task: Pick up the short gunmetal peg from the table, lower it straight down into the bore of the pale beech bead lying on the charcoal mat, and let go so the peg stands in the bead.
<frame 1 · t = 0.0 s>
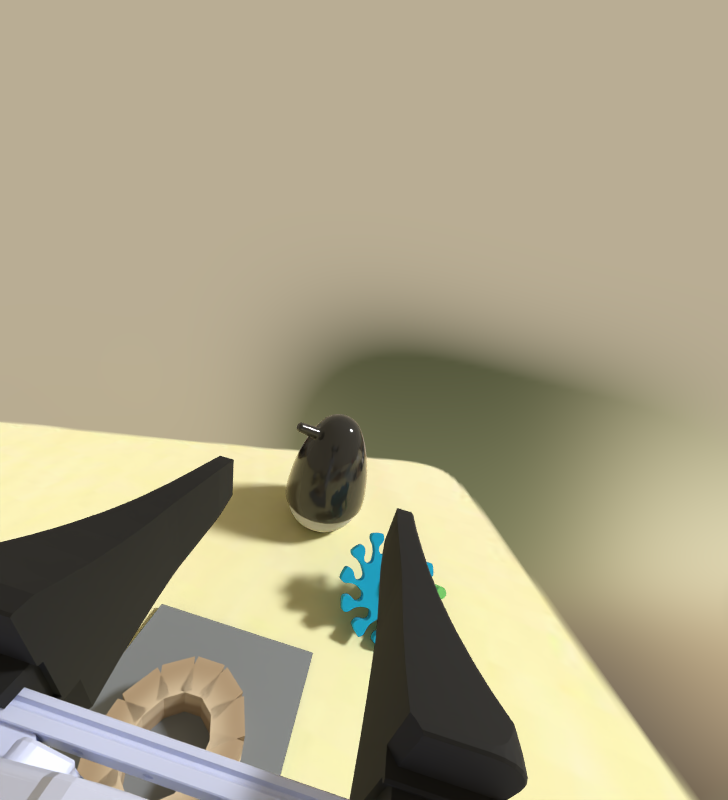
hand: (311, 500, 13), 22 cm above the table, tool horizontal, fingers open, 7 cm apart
pump dispenser: (319, 515, 41), on the table
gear: (383, 610, 32), on the table
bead: (168, 760, 19), resting on mat
mat: (168, 764, 19), on the table
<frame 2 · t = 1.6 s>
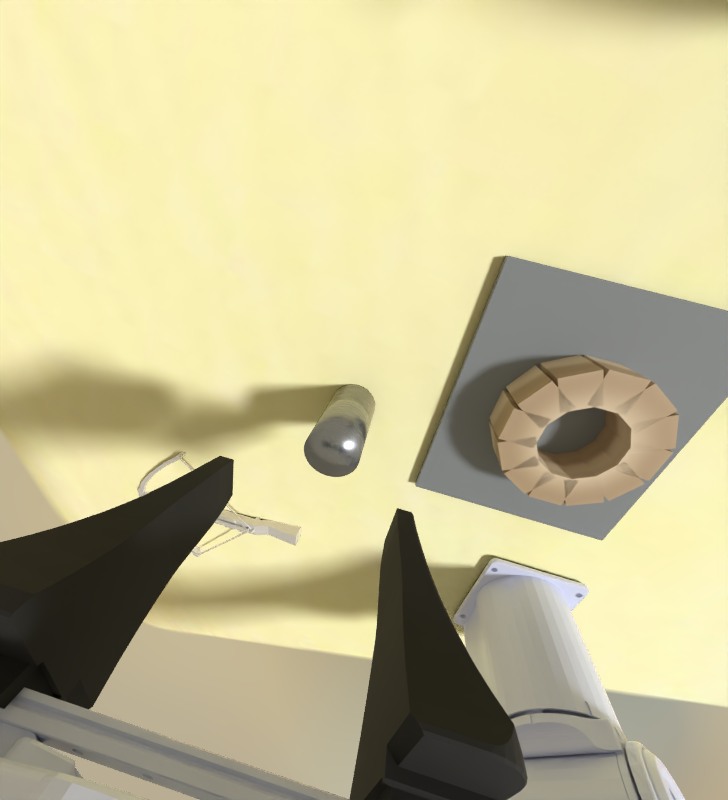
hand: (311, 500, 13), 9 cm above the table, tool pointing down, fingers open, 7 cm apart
peg: (353, 404, 21), on the table
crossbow: (223, 506, 29), on the table
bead: (563, 422, 19), resting on mat
mat: (559, 419, 19), on the table
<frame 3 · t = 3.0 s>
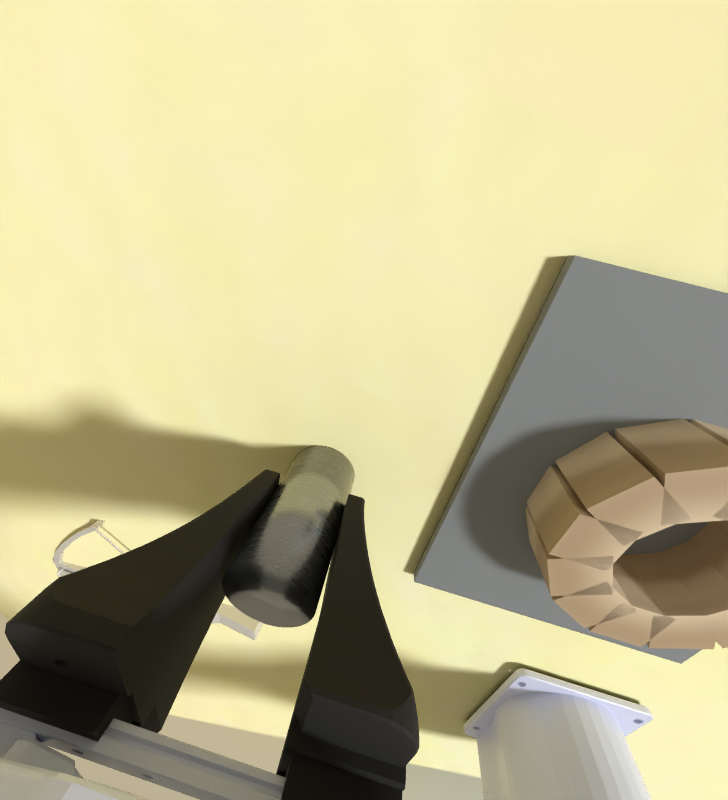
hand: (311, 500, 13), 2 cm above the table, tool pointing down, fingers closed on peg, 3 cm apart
peg: (323, 472, 15), on the table, touching gripper
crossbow: (165, 580, 23), on the table
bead: (642, 514, 12), resting on mat
mat: (634, 505, 13), on the table
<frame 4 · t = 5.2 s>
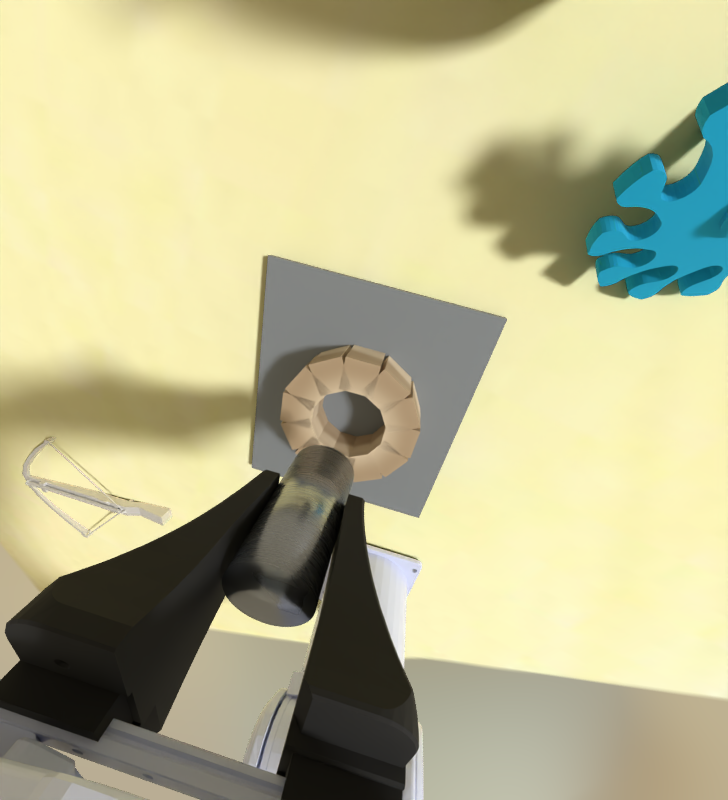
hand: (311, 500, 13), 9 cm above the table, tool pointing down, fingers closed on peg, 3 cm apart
peg: (323, 471, 15), point 7 cm above the table, touching gripper
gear: (687, 213, 14), on the table
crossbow: (104, 489, 31), on the table
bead: (355, 407, 21), resting on mat
mat: (356, 404, 21), on the table
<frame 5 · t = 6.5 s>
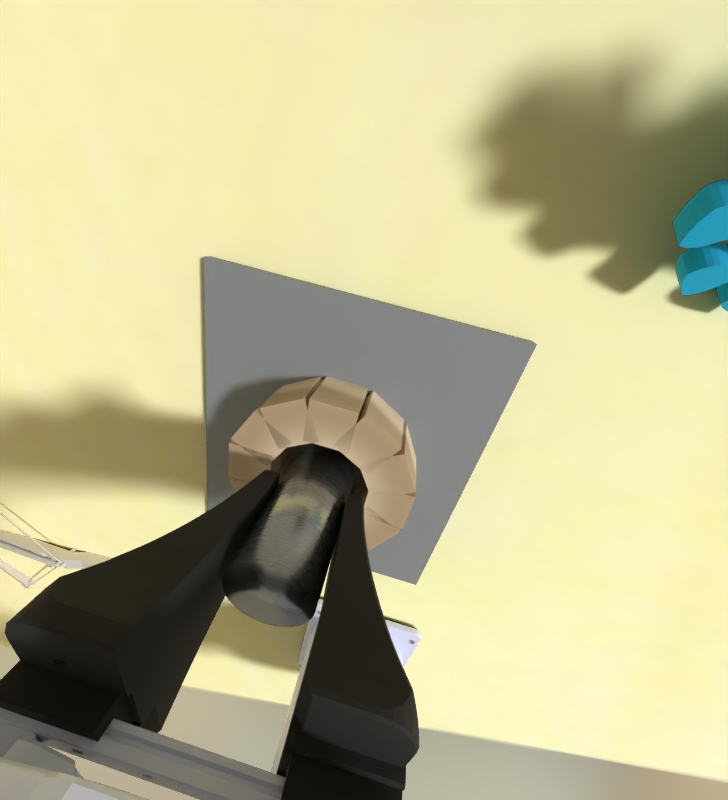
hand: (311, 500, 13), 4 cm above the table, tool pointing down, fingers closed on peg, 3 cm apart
peg: (323, 471, 15), point 2 cm above the table, touching gripper
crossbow: (44, 535, 26), on the table
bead: (331, 454, 16), resting on mat
mat: (334, 449, 16), on the table
when the fingers open (4 cm above the table, at t = 7.3 s): peg drops 1 cm, resting on mat.
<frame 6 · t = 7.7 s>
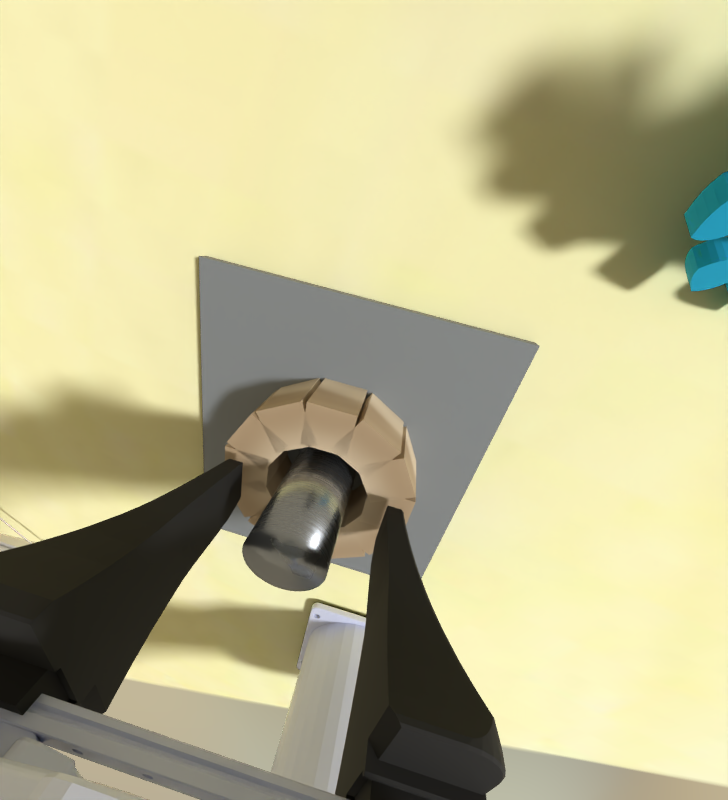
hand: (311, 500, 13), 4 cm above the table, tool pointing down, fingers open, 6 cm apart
peg: (330, 457, 16), point 1 cm above the table, touching mat
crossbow: (41, 537, 26), on the table
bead: (330, 457, 16), resting on mat
mat: (332, 451, 16), on the table
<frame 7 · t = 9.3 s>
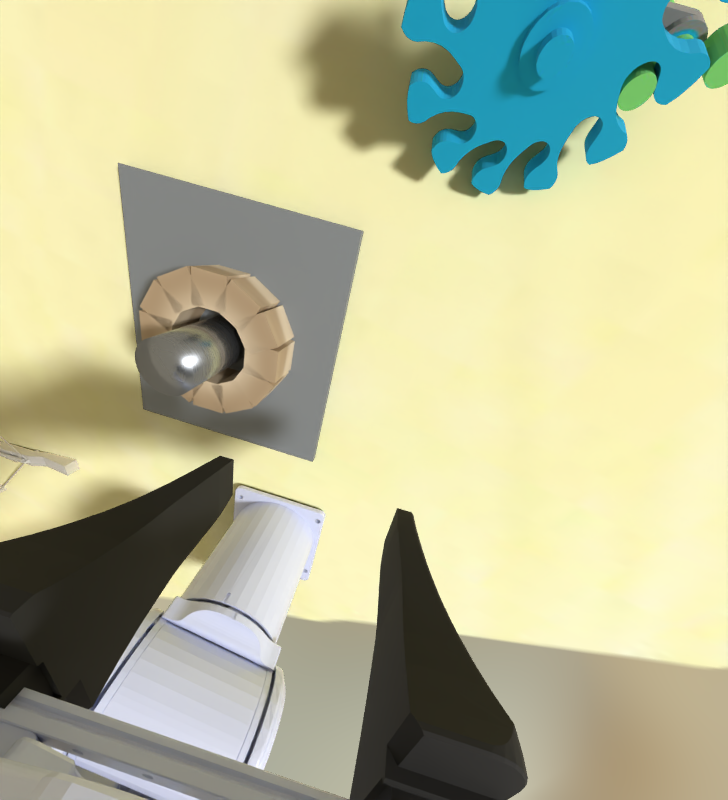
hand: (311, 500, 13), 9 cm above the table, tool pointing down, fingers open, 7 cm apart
peg: (231, 336, 20), point 1 cm above the table, touching mat
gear: (530, 96, 14), on the table
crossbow: (13, 441, 30), on the table
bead: (231, 337, 20), resting on mat
mat: (235, 335, 20), on the table
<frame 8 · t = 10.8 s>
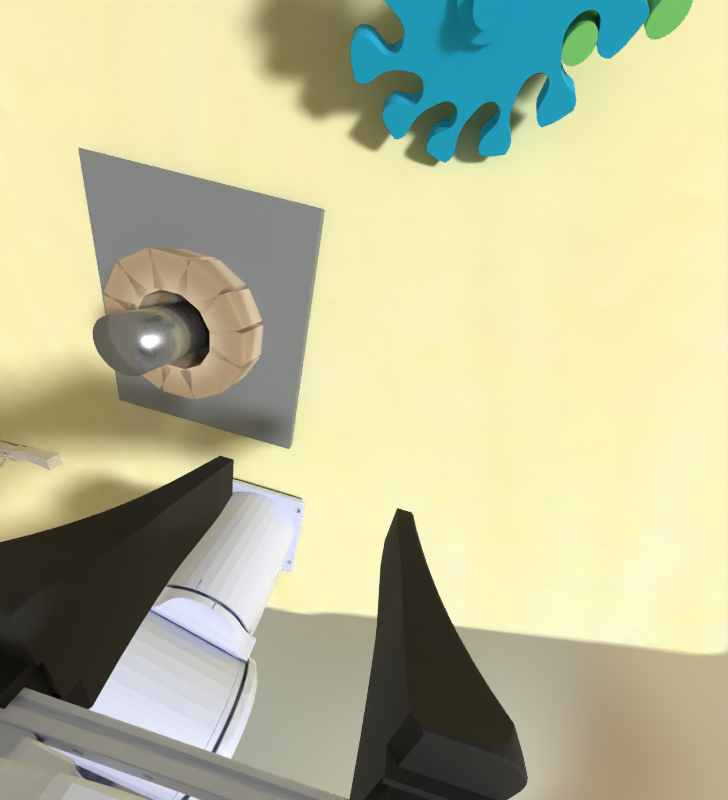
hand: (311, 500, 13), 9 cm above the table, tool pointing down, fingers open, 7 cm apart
peg: (201, 322, 20), point 1 cm above the table, touching mat
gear: (484, 59, 13), on the table
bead: (200, 323, 20), resting on mat
mat: (205, 321, 20), on the table
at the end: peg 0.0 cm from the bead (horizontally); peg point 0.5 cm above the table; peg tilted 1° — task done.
